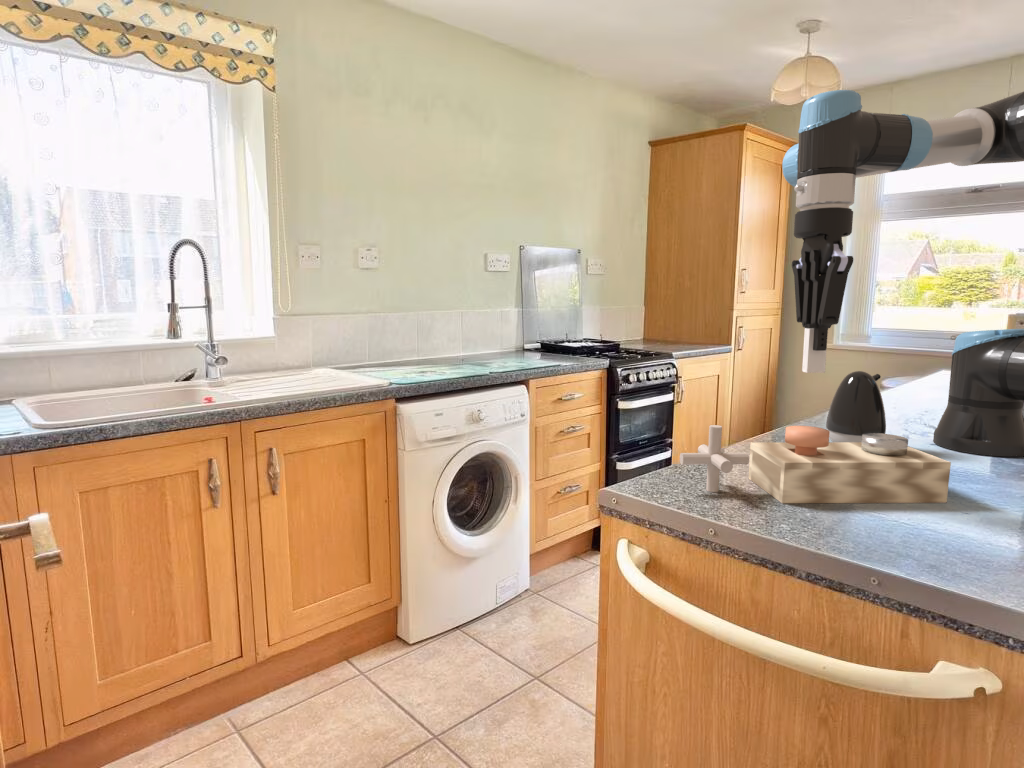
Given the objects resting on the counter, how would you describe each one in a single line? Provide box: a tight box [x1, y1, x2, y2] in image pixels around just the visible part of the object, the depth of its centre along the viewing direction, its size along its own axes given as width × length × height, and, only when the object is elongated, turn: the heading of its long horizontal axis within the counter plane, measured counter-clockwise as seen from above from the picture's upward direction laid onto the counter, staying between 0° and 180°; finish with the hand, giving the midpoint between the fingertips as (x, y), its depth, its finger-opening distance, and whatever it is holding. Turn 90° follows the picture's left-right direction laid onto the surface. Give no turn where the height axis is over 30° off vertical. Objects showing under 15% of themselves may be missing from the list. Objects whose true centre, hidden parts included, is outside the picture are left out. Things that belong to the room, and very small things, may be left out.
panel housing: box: [748, 441, 952, 504], centre depth 94 cm, size 24×12×6 cm, turn 91°
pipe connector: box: [679, 424, 750, 493], centre depth 93 cm, size 10×10×10 cm
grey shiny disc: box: [861, 433, 909, 455], centre depth 94 cm, size 6×6×8 cm
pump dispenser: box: [825, 370, 887, 442], centre depth 119 cm, size 10×10×15 cm
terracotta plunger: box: [784, 425, 830, 455], centre depth 93 cm, size 6×6×8 cm
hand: (813, 371), depth 92 cm, fingers closed
